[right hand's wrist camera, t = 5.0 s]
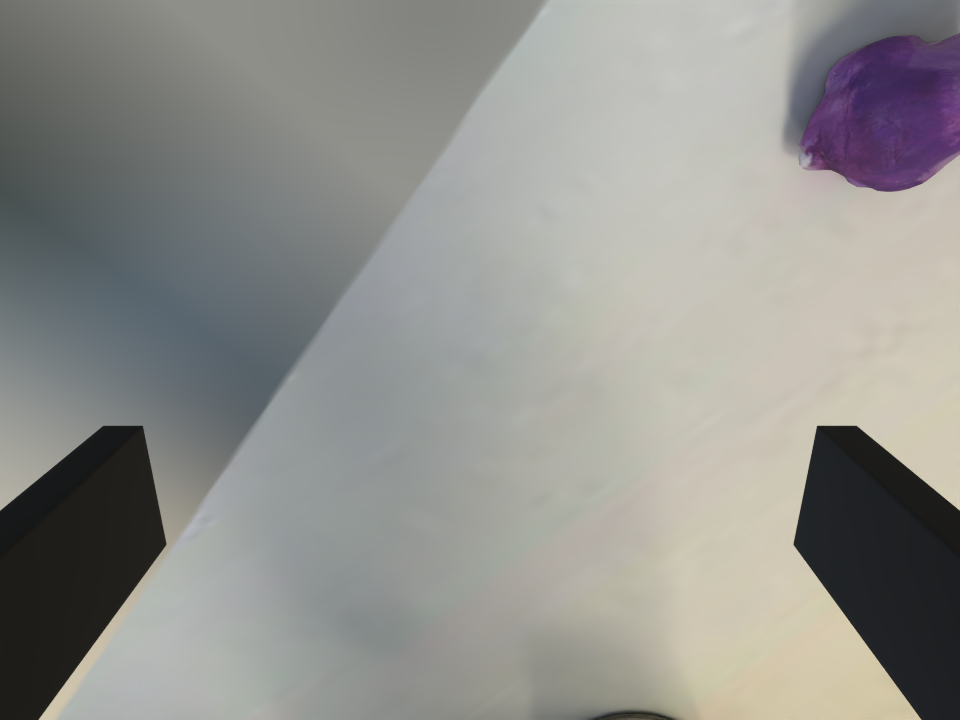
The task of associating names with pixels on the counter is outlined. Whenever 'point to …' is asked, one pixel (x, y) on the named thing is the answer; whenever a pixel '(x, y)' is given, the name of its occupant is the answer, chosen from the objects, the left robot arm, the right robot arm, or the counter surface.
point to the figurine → (888, 114)
